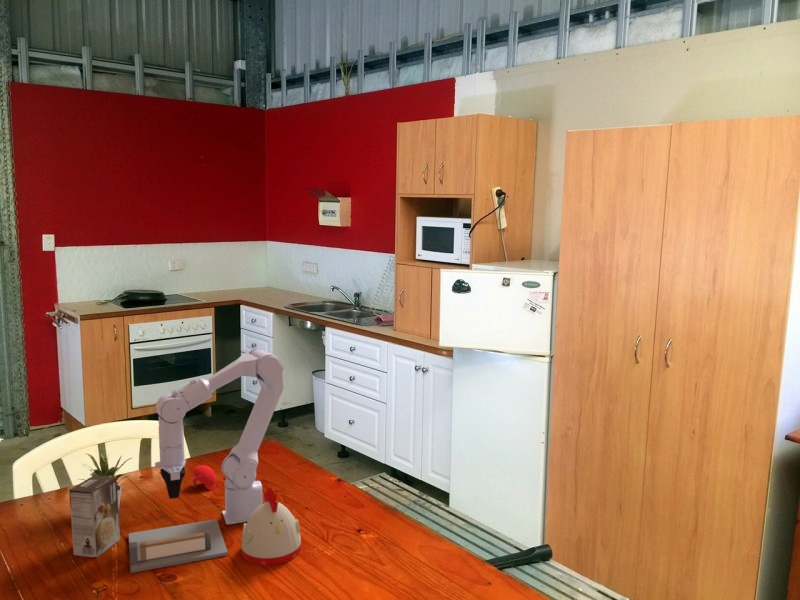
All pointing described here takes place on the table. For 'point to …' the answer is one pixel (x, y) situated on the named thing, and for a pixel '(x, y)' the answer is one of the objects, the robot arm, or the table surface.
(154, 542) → the tan wooden bar
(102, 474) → the house plant
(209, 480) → the cap
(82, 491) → the coffee box
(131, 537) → the frame
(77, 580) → the table surface
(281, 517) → the kitchen timer
